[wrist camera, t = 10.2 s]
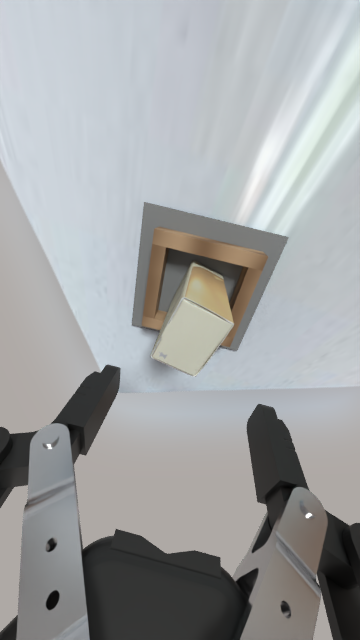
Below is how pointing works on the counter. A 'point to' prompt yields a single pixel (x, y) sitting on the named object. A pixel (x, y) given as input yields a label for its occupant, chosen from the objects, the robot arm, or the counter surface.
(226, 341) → the collar
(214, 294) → the skincare box
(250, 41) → the counter surface
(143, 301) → the mat
